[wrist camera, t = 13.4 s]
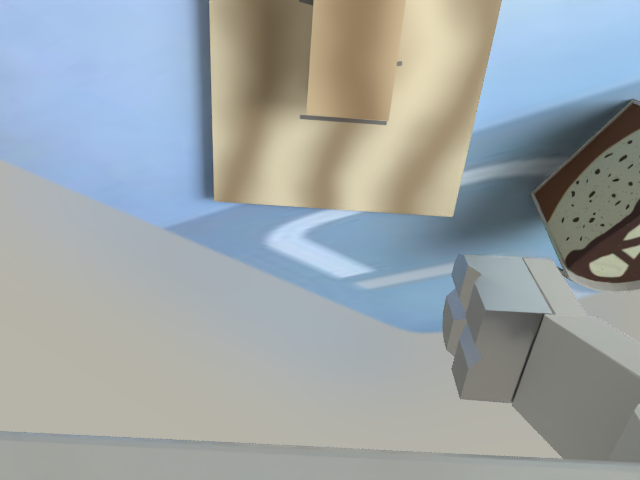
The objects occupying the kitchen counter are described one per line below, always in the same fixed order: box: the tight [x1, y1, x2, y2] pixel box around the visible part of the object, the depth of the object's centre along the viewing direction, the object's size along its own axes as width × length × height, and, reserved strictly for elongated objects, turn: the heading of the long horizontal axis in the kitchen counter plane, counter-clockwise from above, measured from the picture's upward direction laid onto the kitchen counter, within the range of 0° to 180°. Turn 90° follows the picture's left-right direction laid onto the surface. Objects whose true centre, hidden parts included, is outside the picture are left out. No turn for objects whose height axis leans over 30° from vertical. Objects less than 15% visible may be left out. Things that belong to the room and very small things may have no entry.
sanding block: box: [306, 0, 406, 121], centre depth 35 cm, size 5×8×4 cm, turn 176°
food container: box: [530, 99, 640, 293], centre depth 39 cm, size 12×6×10 cm, turn 142°
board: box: [209, 0, 502, 217], centre depth 39 cm, size 18×18×1 cm
